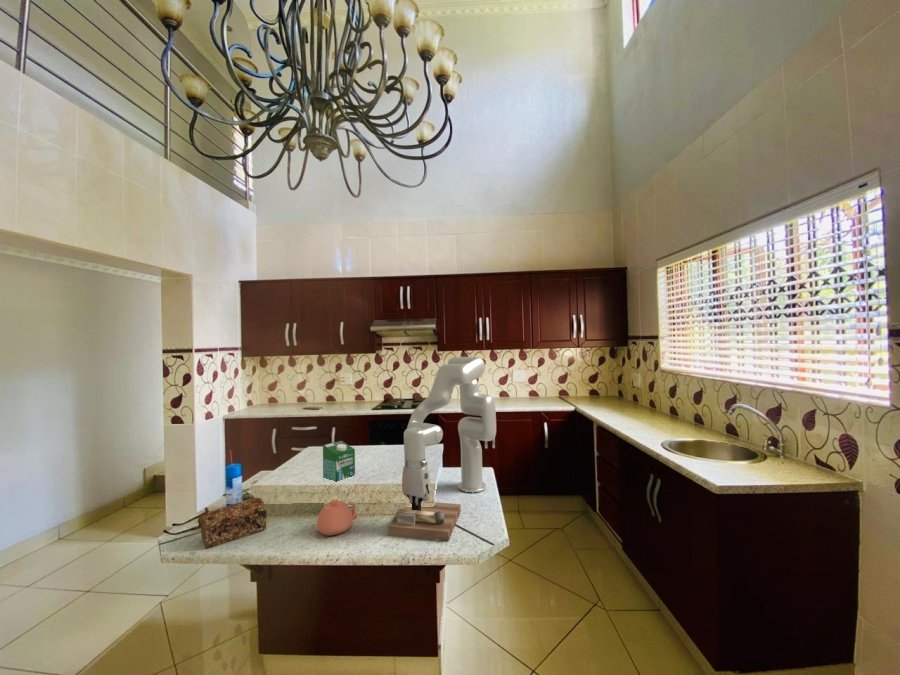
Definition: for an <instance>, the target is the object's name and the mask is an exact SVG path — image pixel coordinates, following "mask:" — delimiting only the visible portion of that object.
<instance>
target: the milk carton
mask: <svg viewBox="0 0 900 675" xmlns="http://www.w3.org/2000/svg"><path fill="white" fill-rule="evenodd" d="M354 475H355V476H356V451H355V448H354V447H352V446H351V445H349V444H348V443H346V442H344V441H343V440H338V441H334V442H331V443H330V442H329V443H327V444H324V445H323V444H322V479H323V478H326V479H329V480H333V481H335V482H337V481H340V480H343V479H346V478H348V477H352V476H354Z"/></svg>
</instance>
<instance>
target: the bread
mask: <svg viewBox="0 0 900 675" xmlns="http://www.w3.org/2000/svg"><path fill="white" fill-rule="evenodd" d="M267 513H268V512H267V508H266V505H265V503H264V500H263V499H262V498H261V497H254V498H253V497H252V498H250V499H246V500H243V501H239V502H238V501H237V502H235V503H233V504H230V505H227V506H223V507H219V508H216V509H214V510H211V511H208V512H206V513H204V514H203V515H202V516H201V518H200V533H201V538H202V541H203V545H204V547H205V549H206V550H207V549H208V550H209V549H211V548H214V547H216V546H217V545H218V546H222V545H224V544H228V543H231V542H233V541H236V540H239V539H242V538H245V537H248V536H251V534H252V535H254V534H257V533H260V532H261V531H264V530H265V529H267V520H268V518H267V517H268V514H267ZM227 542H228V543H227ZM218 546H217V547H218Z"/></svg>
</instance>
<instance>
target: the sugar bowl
mask: <svg viewBox="0 0 900 675" xmlns="http://www.w3.org/2000/svg"><path fill="white" fill-rule="evenodd" d="M348 505H353V506H352V511H351V508H350V507H348ZM355 512H356V503H355V504H354V503H353V502H349V503H347V504H346V503H345V502H343V501H338V500H332V501H331V502H329V503H327V504H325V505H324V507H322V509H321V510H320V511H319V514H318V516H317V518H316V519H317V520H316V523H315V528H316V530H317V531H318V532H319V533H320V534H322V535H324V536H326V535H331V536H336V535H340V534H342V532H343V533H346V532H347V531H348V529H349V528H350V527H351V526H352V524H353V521H356V519H357V518H358V514H357V513H355Z"/></svg>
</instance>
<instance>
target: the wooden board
mask: <svg viewBox="0 0 900 675" xmlns="http://www.w3.org/2000/svg"><path fill="white" fill-rule="evenodd" d="M434 502H435V501H434ZM461 505H462V504H461V503H448V502H438V501H437V502H435V505H434V506H433V507H421V511H428V512H438V511H441V512H443V513H444V523H442V524H436V523H430V522H420V521H415V514H404V513H399V514H398V515H397V514H396V516H395V517H394V518H393V519H392V520H391V522H390V524H389V525H388V529H387V530H388V536H395V537H403V538H414V539H415V538H416V539H423V538H426V539H425V540H432V539H439V540H438V541H442V540H447V541H446V542H449V541H450V539H451V537H452V534H453V532H454V530H455V527H456V525H457V523H458V520H459V518H458V517H460V515H461V513H462V511H461V510H462V509H461V507H462V506H461ZM401 509H406V510H412V507H410V508H409V507H404V506H403V507H402V508H401ZM460 512H461V513H460ZM457 519H458V520H457ZM455 524H456V525H455ZM453 529H454V530H453ZM450 536H451V537H450Z"/></svg>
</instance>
